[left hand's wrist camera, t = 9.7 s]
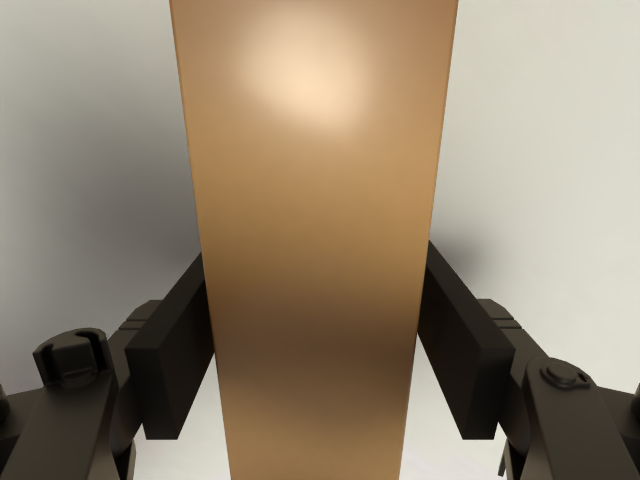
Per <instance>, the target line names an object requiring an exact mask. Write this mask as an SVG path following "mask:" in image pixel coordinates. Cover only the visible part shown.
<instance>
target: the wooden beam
mask: <svg viewBox="0 0 640 480" xmlns="http://www.w3.org/2000/svg"><path fill="white" fill-rule="evenodd" d="M169 4H170V12H171V19H172V27H173V35H174V43H175V50H176V58H177V66H178V73H179V81H180V89H181V97H182V104H183V112H184V120H185V128H186V135H187V143H188V151H189V158H190V166H191V174H192V182H193V189H194V197H195V205H196V213H197V220H198V228H199V236H200V243H201V251H202V259H203V267H204V274H205V282H206V290H207V298H208V305H209V313H210V321H211V329H212V336H213V344H214V352H215V359H216V367H217V375H218V383H219V390H220V398H221V406H222V414H223V421H224V429H225V437H226V444H227V452H228V460H229V468H230V475H231V480H399V474H400V466H401V458H402V450H403V442H404V434H405V426H406V418H407V410H408V402H409V394H410V386H411V378H412V370H413V362H414V354H415V346H416V338H417V330H418V322H419V314H420V306H421V298H422V290H423V282H424V273H425V265H426V257H427V249H428V241H429V233H430V225H431V217H432V209H433V201H434V193H435V185H436V177H437V169H438V161H439V153H440V145H441V137H442V129H443V121H444V113H445V105H446V97H447V89H448V81H449V72H450V64H451V56H452V48H453V40H454V32H455V24H456V16H457V8H458V0H169Z"/></svg>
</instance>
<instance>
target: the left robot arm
mask: <svg viewBox="0 0 640 480" xmlns="http://www.w3.org/2000/svg"><path fill="white" fill-rule="evenodd" d="M417 333H418V335H419V338H420V340H421V342H422V345H423V347H424V349H425V352H426V354H427V356H428V359H429V361H430V364H431V366H432V368H433V371H434V373H435V375H436V378H437V380H438V382H439V385H440V387H441V389H442V392H443V394H444V397H445V399H446V401H447V404H448V406H449V408H450V411H451V413H452V415H453V418H454V420H455V422H456V425H457V427H458V430H459V432H460V434H461V437H462V439H463V440H494V436H495V432H496V428H497V424H498V422H499V424H500V426H501V427H502V429H503V431H504V433H505V435H506V436H507V439H506V443H505V447H504V451H503V454H502V458H501V462H500V466H499V471H498V475H499V476H502V477H503V475H504V472H505V468H506V474H507V480H640V383H639V385H638V388H637V390H636V392H635V394H630V393H626V392H621V391H617V390H612V389H607V388H603V387H599V386H597V385H596V384H595V382H594V381H593V380H592V379H591V377H590V376H589V375H588V374H586V373H585V372H584V371H582V370H581V369H580V368H578V367H576V366H574V365H572V364H570V363H568V362H566V361H562V360H559V359H556V358H551V357H548V355H547V354H546V353H545V352H544V351H543V350H542V349H541V348H540V347H539V345H538V344H537V343H536V342H535V341H534V340H533V339H532V338H531V337H530V335H529V334H528V333H527V332H526V331H525V330H524V329H522V327H521V325H520V324H519V323H518V322H517V321H516V320H514V318H513V317H512V315H511V314H510V313H509V312H508V311H507V310H506V309H505V308H504V307H502V306H501V305H499V304H498V303H496V302H494V301H493V300H491V299H476V298H475V297H474V295H473V294H472V293H471V292H470V290H469V289H468V288H467V287H466V285H465V284H464V283H463V282H462V280H461V279H460V278H459V277H458V275H457V274H456V273H455V272H454V270H453V269H452V268H451V267H450V265H449V264H448V263H447V262H446V260H445V259H444V258H443V257H442V255H441V254H440V253H439V252H438V250H437V249H436V248H435V247H434V245H433V244H432V243H431V242H430V240H429V241H428V249H427V257H426V265H425V273H424V282H423V290H422V298H421V306H420V314H419V322H418V330H417ZM32 354H33V357H34V360H35V362H36V365H37V368H38V370H39V373H40V376H41V379H42V381H43V384H44V386H43V388H40V389H36V390H31V391H26V392H22V393H17V394H12V395H8V396H6V395H5V392H4V390H3V388H2V385H1V384H0V480H133V475H134V467H135V459H136V448H135V443H134V439H133V438H134V436H135V435H136V433H137V431H138V429H139V427H140V426H141V424H143V428H144V432H145V436H146V440H177V439H178V437H179V434H180V432H181V430H182V427H183V425H184V422H185V420H186V418H187V415H188V413H189V411H190V408H191V406H192V404H193V401H194V399H195V397H196V394H197V392H198V389H199V387H200V385H201V382H202V380H203V378H204V375H205V373H206V371H207V368H208V366H209V364H210V361H211V359H212V357H213V354H214V344H213V336H212V329H211V321H210V313H209V305H208V298H207V290H206V282H205V274H204V267H203V259H202V252H201V253H200V254H199V255H198V257H197V258H196V259H195V260H194V262H193V263H192V264H191V265H190V267H189V268H188V269H187V270H186V272H185V273H184V274H183V275H182V277H181V278H180V279H179V280H178V282H177V283H176V284H175V285H174V287H173V288H172V289H171V290H170V292H169V293H168V294H167V295H166V297H165V298H164V299H163V300H149V301H148V302H146V303H145V304H143V305H141V306H140V307H138V308H136V309H135V310H134V311H133V313H132V314H131V315H130V316H129V317H128V318H127V319H126V321H125V322H124V323H123V324H122V325H121V326H120V327H119V330H116V332H115V333H114V334H113V335H112V336H111V337H110V338H109V339H108V340H107V338H106V334H105V333H104V332H103V331H102V330H100V329H96V328H81V329H75V330H71V331H68V332H64V333H62V334H59V335H57V336H55V337H52V338H50V339H49V340H47V341H46V342H44V343H43V344H41V345H40V346H39V347H38V348H37V349H36V350H35V351H34V352H33V353H32Z"/></svg>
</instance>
